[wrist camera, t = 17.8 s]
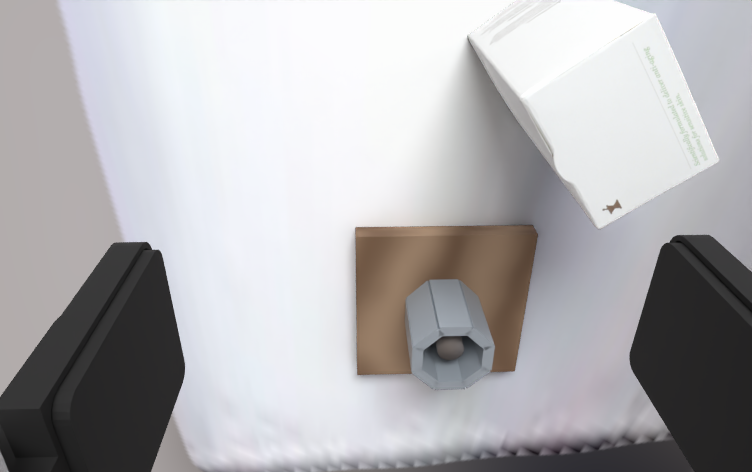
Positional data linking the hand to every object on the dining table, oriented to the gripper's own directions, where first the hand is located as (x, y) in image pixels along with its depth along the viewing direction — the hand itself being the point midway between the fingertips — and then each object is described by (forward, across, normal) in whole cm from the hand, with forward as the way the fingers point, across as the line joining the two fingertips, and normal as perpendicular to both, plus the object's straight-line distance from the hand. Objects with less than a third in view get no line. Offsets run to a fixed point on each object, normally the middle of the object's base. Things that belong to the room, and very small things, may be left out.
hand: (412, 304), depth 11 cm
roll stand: (+30, -6, +22) cm, 38 cm away
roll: (+29, -6, +22) cm, 37 cm away
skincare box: (+31, -11, +2) cm, 32 cm away
